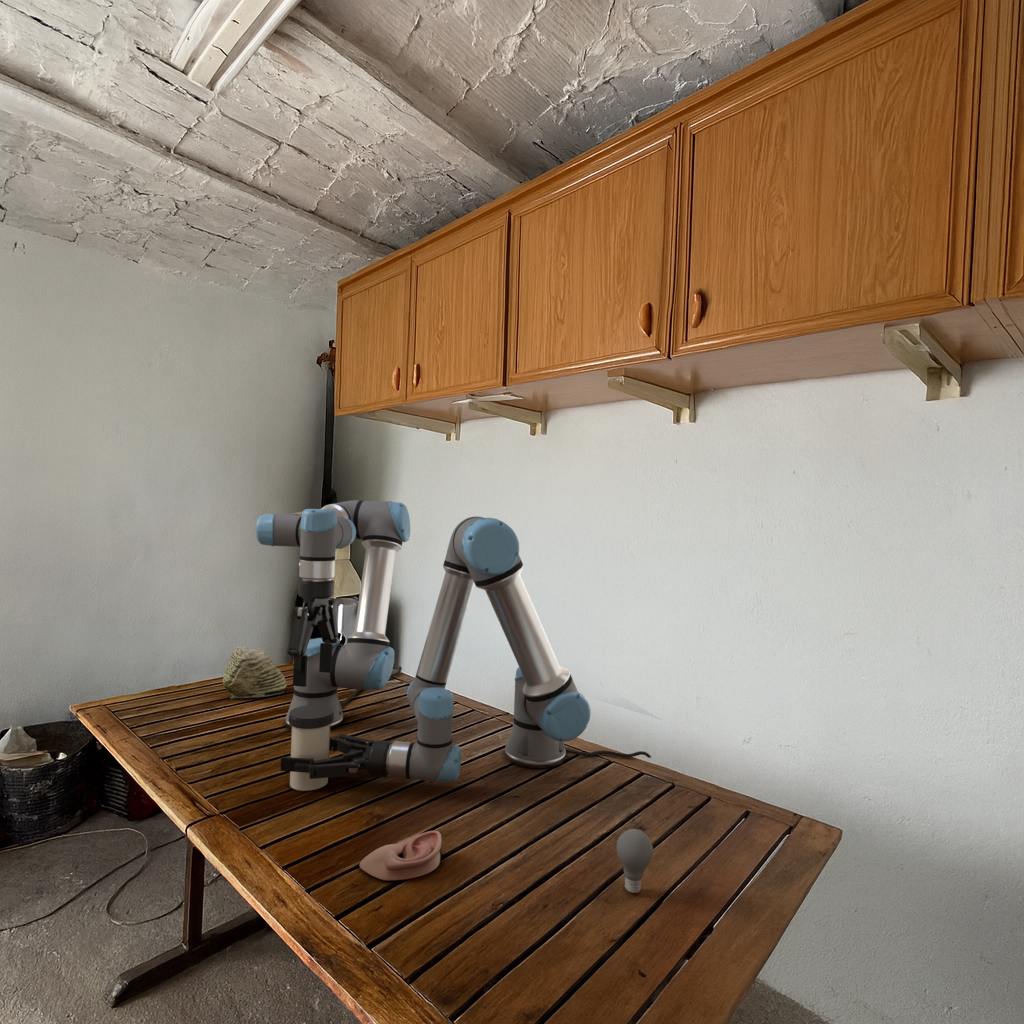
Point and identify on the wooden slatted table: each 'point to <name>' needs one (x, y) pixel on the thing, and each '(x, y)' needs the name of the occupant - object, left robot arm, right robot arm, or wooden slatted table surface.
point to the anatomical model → (405, 858)
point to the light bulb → (634, 857)
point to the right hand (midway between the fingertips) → (293, 752)
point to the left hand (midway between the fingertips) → (313, 678)
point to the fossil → (252, 674)
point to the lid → (311, 716)
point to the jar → (309, 754)
